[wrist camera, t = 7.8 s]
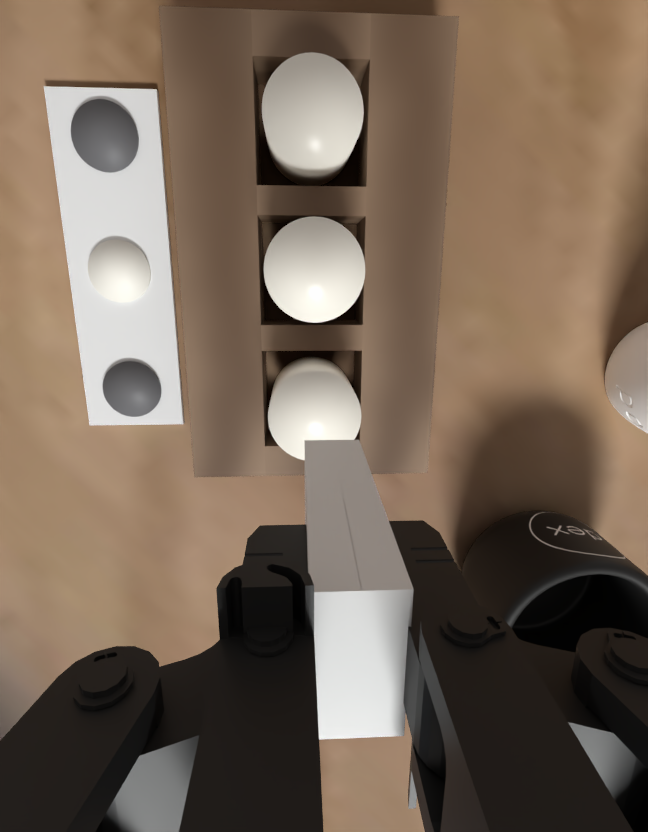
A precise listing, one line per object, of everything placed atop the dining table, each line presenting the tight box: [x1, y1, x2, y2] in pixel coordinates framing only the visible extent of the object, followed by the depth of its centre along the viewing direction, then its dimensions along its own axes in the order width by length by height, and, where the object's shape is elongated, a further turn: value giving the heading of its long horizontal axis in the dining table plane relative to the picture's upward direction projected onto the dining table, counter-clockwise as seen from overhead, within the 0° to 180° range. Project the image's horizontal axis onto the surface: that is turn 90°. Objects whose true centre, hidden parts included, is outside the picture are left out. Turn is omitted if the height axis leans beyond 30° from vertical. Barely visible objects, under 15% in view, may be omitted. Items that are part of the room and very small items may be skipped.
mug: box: [461, 511, 648, 652], centre depth 28 cm, size 12×9×7 cm
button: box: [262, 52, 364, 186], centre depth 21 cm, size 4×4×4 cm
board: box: [159, 6, 459, 477], centre depth 23 cm, size 12×20×3 cm, turn 0°
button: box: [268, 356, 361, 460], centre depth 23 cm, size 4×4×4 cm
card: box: [44, 86, 184, 425], centre depth 24 cm, size 5×16×1 cm, turn 0°
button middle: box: [264, 216, 365, 323], centre depth 21 cm, size 4×4×4 cm
